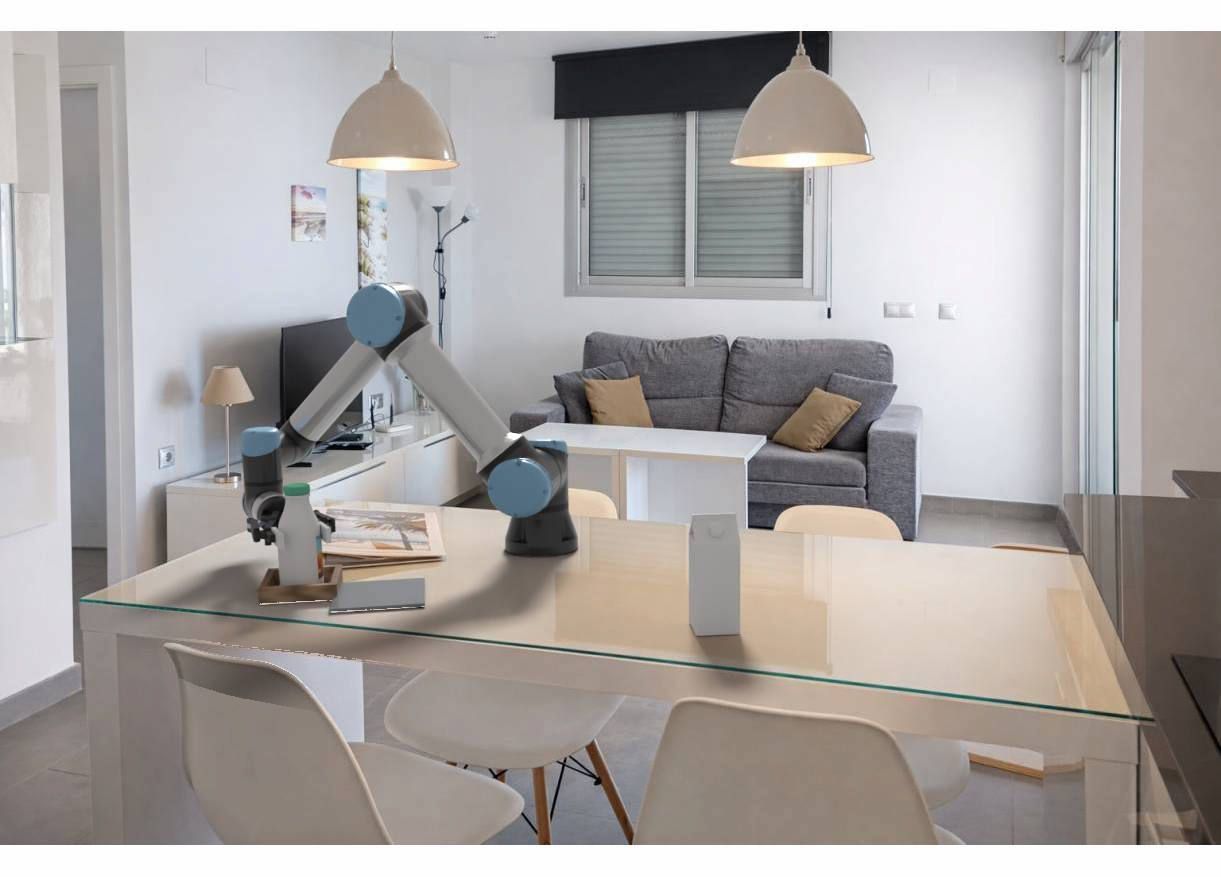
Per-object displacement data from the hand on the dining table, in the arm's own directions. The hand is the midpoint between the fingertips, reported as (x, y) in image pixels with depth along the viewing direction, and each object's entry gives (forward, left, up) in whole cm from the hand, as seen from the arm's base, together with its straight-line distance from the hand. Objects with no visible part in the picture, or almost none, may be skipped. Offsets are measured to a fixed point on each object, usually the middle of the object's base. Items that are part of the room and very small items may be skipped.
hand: (305, 538), depth 196 cm
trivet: (-12, +1, -11) cm, 17 cm away
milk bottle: (+2, -5, -11) cm, 12 cm away
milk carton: (-66, +30, -11) cm, 74 cm away
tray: (+2, -5, -11) cm, 12 cm away
